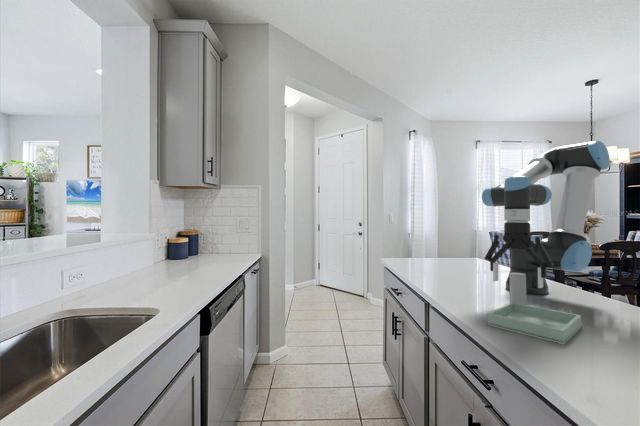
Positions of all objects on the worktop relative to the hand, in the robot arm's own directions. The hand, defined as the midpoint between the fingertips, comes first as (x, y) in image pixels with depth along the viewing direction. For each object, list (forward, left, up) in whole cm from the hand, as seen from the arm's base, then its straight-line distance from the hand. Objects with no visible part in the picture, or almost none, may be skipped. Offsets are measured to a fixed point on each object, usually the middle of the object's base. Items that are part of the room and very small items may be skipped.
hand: (517, 284), depth 107 cm
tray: (+15, +9, -9) cm, 19 cm away
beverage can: (0, 0, -9) cm, 9 cm away
